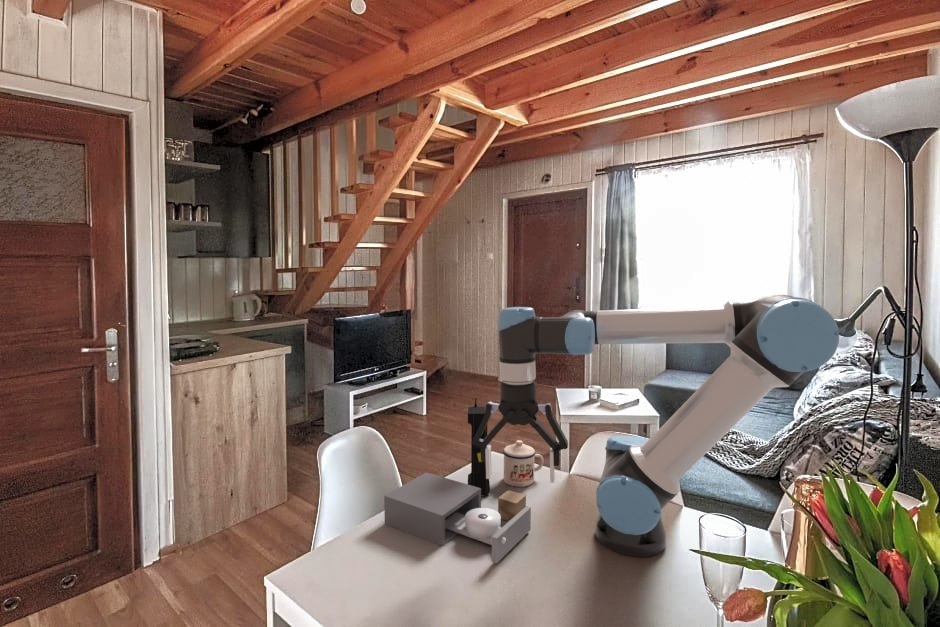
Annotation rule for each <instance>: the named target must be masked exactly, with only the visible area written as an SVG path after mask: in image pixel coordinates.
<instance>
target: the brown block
mask: <svg viewBox="0 0 940 627" xmlns="http://www.w3.org/2000/svg"><path fill="white" fill-rule="evenodd" d="M497 501H498V502H497V512H498V513H499V514H500V516H501V520H504V521H508V522H509V521H510V520H511V519H512V518H513V517H514V516H516V515H517V514H518V513H519V512H520V511H521V510H522V509H523V508H525V507H526V506H527V495H526V494H524V493H520V492H516V491H512V490H507V491H505V492H504V493H503V494H502V495H500V496H499V497H498V498H497Z"/></svg>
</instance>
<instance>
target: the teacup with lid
mask: <svg viewBox="0 0 940 627" xmlns="http://www.w3.org/2000/svg"><path fill="white" fill-rule="evenodd" d="M502 453H503V481H504V482H505V483H506V484H507V485H509V486H512V487H518V488H523V487H527V486H530V485H532V484H533V483H534V482H535V472H537V471H540V470H541V469H542V468H543V466H544V462H545V461H544V460H545V459H544V457H543V455H541V454H539V453H536V451H535V449H534V448H533V447H532V446H531V445H527V444H525V443H524V442H523V441H522V440H515V443H513V444H510V445H509V444H508V445H506V446H505V447H504V448H503V451H502ZM535 458H539V460H540V462H539V464H538V466H536V467H535Z"/></svg>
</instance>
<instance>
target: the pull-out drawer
mask: <svg viewBox="0 0 940 627" xmlns="http://www.w3.org/2000/svg"><path fill="white" fill-rule="evenodd" d="M531 509H532V508H531V506H528V505H526V507H525V508H523V509H522V510H521V511H520V512H519V513H518V514H517V515H516V516H514V517H513V518H512V519H511V520H510V521H508V522H506V523H505V524H504V525H503V526H501V529H500V530H499V531H498V532H497V533H495V534H494V535H493V536H492V538H486V539H480V538H475V537H472V536H470V535H469V534H467V532H466V530H465V515H463V514H460V513H457V512H456V513H454V514H453V515H451V516H450V517H449V518H447V519H446V520H445V529H448V530H451V531H454V532H457V533H458V535H459V534H460V535H463V536H465V537H468V538H471V539H474V540H475V541H480V542H482V543H485V544H488V545H490V546H491V562H492V563H493V564H498V563H499V562H500V561H501V560H502V559H503V558H504V557H505V556H506V555H507V554H508V553H509V552H510V551H511V550H512V549H513V548H514V547H515V546H516V545H517V544H518V543H519V542H520V541H521V540H522V539H523V538H524V537H525V536H526V535H527V534H528V533H529V532H530V531H531V527H532V526H531V523H532V522H531V521H532V520H531V519H532V518H531V516H532V514H531V513H532V512H531V511H532V510H531Z"/></svg>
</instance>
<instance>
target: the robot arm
mask: <svg viewBox="0 0 940 627" xmlns="http://www.w3.org/2000/svg"><path fill="white" fill-rule="evenodd" d="M497 332H498V346H499V347H498V349H499V352H498V353H499V379H500V380H501V382H500V384H499V388H500V391H499V392H500V402H499V403H496V402H493V401H492V400H488V402H487V403H486V405H485V407H486V410H485V415H484V417H483V419H482V422H481V424H480V426H479V428H478V430H477V432H476V434H475V436H474V438H473V440H472V444H473V445H477V446H479V447H480V449H481V461H482V462H486V479H489V480H491V477H492V474H493V471H492V468H493V467H492V466H493V465H492V444H490V442H492V440H493V439H494V438H495V437H496V436H497V434H498V433H499V432H500V431H501V430H502V429H503V427H505V426H506V424H507V423H508V424H510V425H511V426H512V425H513V426H516V425H520V426H526V425H528V424H529V425H530V427H531V428H533V429H534V430H535V431H536V432H537V434H539V436H541V438H542V439H543V441H545V442H546V444H547V445H548V446H549V447H550V449H549V479H550V480H549V482H550V483H555V467H559V466H560V462H561V461H560V460H561V459H560V456H561V454H560V452H561V451H562V450H567V449H568V448H569V441H568V439H567V438H566V435H565V433H564V431H563V429H562V427H561V426H560V424H559V422H558V420H557V418H556V417H555V414H554V412H553V408H552V403H551V402H550V401H548V402H546V403H541V404H538V402H537V382H536V381H535V380H536V378H537V374H536V373H537V370H536V354H541V355H542V354H547V355H548V354H550V355H551V354H552V355H573V356H578V355H579V356H580V355H582V356H583V355H584V356H585V355H591V354H592V353H594V350H595V345H634V344H635V345H637V344H638V345H640V344H641V345H643V344H645V345H646V344H651V345H653V344H654V345H655V344H658V345H659V344H726V345H727V346H728V347H729V348H730V355H729V356H728V357H727V358H726V359H725V360H724V361H723V362H722V364H721V365H720V366H718V368H716V370H715V371H713V373H712V374H711V375H710V376H709V377H708V378H707V379H706V380H705V381H704V382H703V383H702V384H701V385H700V386H699V387H698V388H697V389H696V390H695V391H694V392H693V393H692V394H691V396H690V397H689V398H688V399H687V400H686V401H685V402H684V403H683V404H682V405H681V406H680V407H679V408H678V409H677V410H676V411H675V412H674V413H673V415H671V417H669V418H668V420H666V422H664V424H663V425H661V427H660V428H659V429H658V430H657V431H656V432H655V433H654V434H653V435H652V436H651V437H650V438H646V437H641V436H633V435H615V436H611V437H608V439H607V440H606V444H605V445H606V446H605V448H604V449H605V461H604V462H605V463H604V467H603V471H602V474H601V478H600V482H599V484H598V485H597V488H596V492H595V494H596V508H597V510H598V513H599V514H598V516H597V519H596V520H595V521H596V522H595V536H596V539H597V540H598V542H599V543H601V544H602V545H603V546H604V547H606V548H607V549H609V550H611V551H613V552H615V553H619V554H621V555H626V556H630V557H638V558H639V557H640V558H643V557H650V556H651V557H653V556H655V555H658V554H660V553H662V552H663V551H664V550H665V548H666V543H667V542H666V541H667V535H666V530H665V526H664V522H663V519H662V509H664V508H665V507H666V506H667V505H668V504H669V503H670V502H671V501H672V500H673V499H674V498H675V497H676V496H677V495H678V494H679V493H680V491H681V490H680V489H681V487H680V479H682V478H683V477H684V476H685V474H687V472H688V471H689V470H690V469H692V468H693V467H694V466H695V465H696V464H697V463H698V462H699V461H700V460H701V459H702V458H703V457H704V456H705V455H706V454H707V453H708V452H709V451H710V450H711V449H712V448H713V447H714V446H715V445H716V444H718V442H719V441H720V440H722V439H723V437H724V436H725V435H727V434H728V432H730V431H731V429H733V427H735V426H736V425H737V424H738V423H739V422H740V421H741V420H742V419H743V418H745V416H746V415H747V414H748V413H749V412H751V410H752V409H754V408H755V407H756V405H757V404H758V403H759V402H760V401H761V400H762V399H764V398H765V396H767V395H768V394H769V392H771V390H772V389H775V388H788V387H790V386H791V385H792V384H793V383H794V382H795V381H796V380H797V379H798V378H800V376H801V375H802V374H803V373H806V372H811V371H813V370H816V369H819V368H820V367H822V366H824V365H826V363H828V362H829V361H830V360H831V358H833V356H834V355H835V353H836V352H837V349H838V346H839V343H840V330H839V327H838V324H837V322H836V320H835V318H834V317H833V315H832V314H831V313H830V312H829V311H828V310H827V309H825V307H823V306H822V305H820V304H818V303H816V302H814V301H813V300H811V299H808V298H802V297H798V296H797V297H796V296H792V295H788V294H787V295H786V294H774V295H767V296H761V297H755V298H748V299H747V298H746V299H734V300H733V299H732V300H728V301H726V303H724V304H723V305H710V306H707V305H706V306H705V305H704V306H685V307H684V306H683V307H656V308H655V307H654V308H634V309H633V308H632V309H608V310H581V309H574V310H569V311H567V312H566V313H564V314H563V315H562V316H557V317H556V316H554V317H553V316H551V317H548V316H546V317H543V316H536V313H535V309H534V308H533V307H530V306H512V307H504V308H502V309H501V310H500V311H499V313H498V329H497ZM497 410H498V411H499V413H500V414H501V415H502V417H501V418H500V419H499V421H498V422H497V423H496V424H495V425H494V426H493V428H492V429H491V430H490V431H489V432H488V433H487V436H486V437H485V438H484V439H480V437H481V435H482V433H483V431H484V429H485V427H486V425H487V426H488V423H489V420H490V419H491V417H492V415H493V414H495V413H496V411H497ZM538 412H541V413H542V415H543V416H545V417H546V419H547V421H548V423H549V426H550V427H551V429H552V431H553V433H554V435H555V437H556V438H557V440H558V441H557V440H556V439H555V437H554V436H553V435H552V434H551V433H550V432H549V430H548V429H547V428H546V427H545V426H544V424H542V422H541V421H540V419H539V418H538V417H537V413H538Z"/></svg>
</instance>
